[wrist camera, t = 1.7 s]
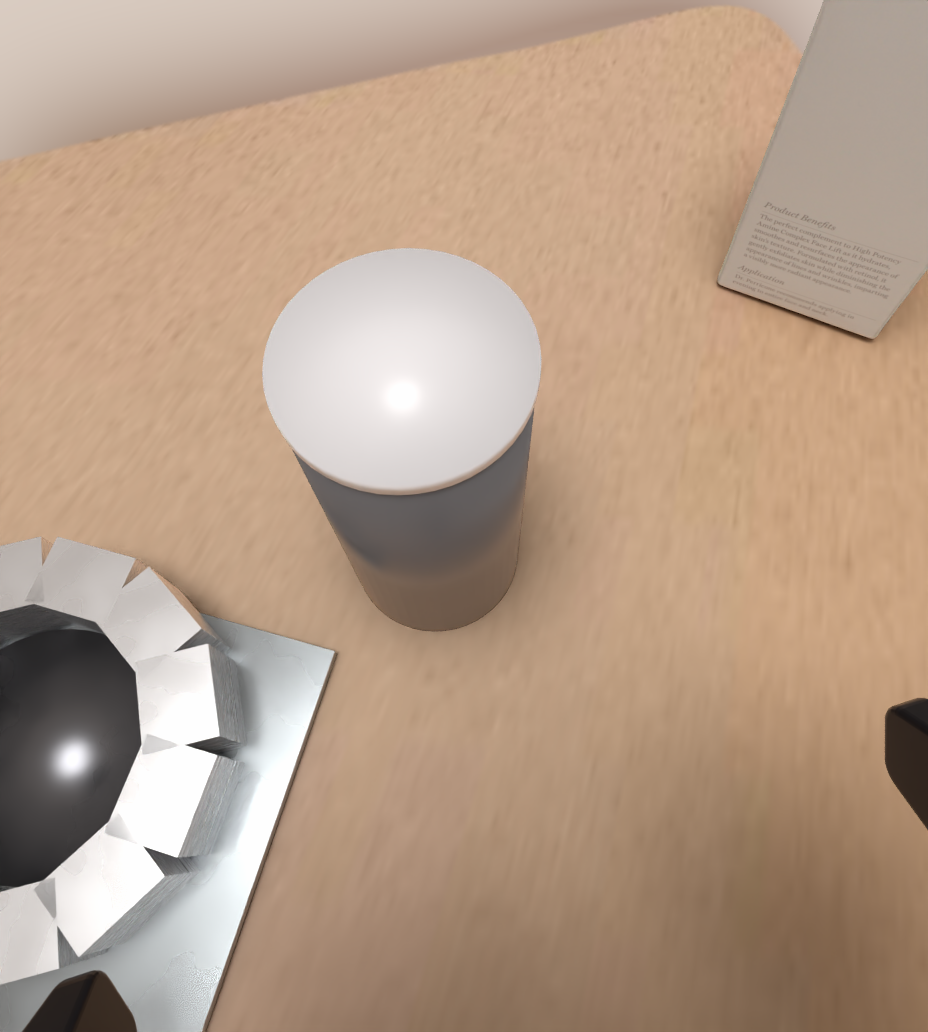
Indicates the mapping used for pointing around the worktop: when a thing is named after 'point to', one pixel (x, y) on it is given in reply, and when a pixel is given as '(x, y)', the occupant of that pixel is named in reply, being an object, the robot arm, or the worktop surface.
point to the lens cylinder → (412, 424)
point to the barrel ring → (135, 779)
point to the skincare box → (844, 173)
